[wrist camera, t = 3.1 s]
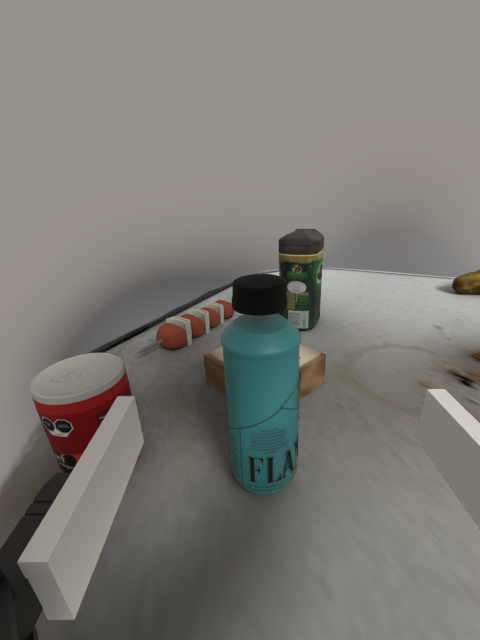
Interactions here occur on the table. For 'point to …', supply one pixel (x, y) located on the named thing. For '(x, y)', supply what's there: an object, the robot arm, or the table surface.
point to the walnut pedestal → (308, 368)
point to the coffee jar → (302, 276)
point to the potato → (467, 283)
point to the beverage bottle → (262, 384)
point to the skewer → (191, 325)
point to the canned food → (77, 401)
